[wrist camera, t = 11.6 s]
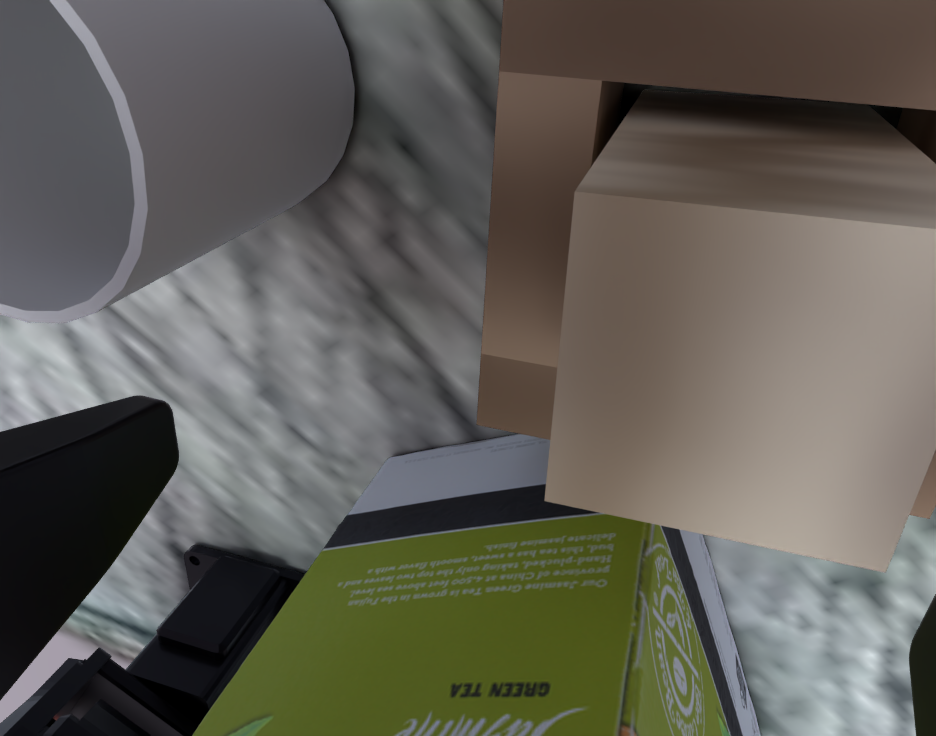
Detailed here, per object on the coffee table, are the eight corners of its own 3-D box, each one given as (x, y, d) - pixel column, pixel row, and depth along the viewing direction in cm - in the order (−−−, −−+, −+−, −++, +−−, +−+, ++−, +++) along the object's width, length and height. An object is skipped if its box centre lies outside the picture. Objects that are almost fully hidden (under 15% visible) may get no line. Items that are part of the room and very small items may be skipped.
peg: (867, 105, 17) (1020, 238, 8) (811, 307, 19) (886, 573, 11) (643, 89, 18) (574, 191, 9) (617, 281, 20) (544, 500, 12)
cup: (339, 240, 22) (142, 376, 15) (57, 131, 23) (-258, 205, 16) (385, -20, 18) (154, -17, 11) (46, -133, 20) (-374, -202, 12)
